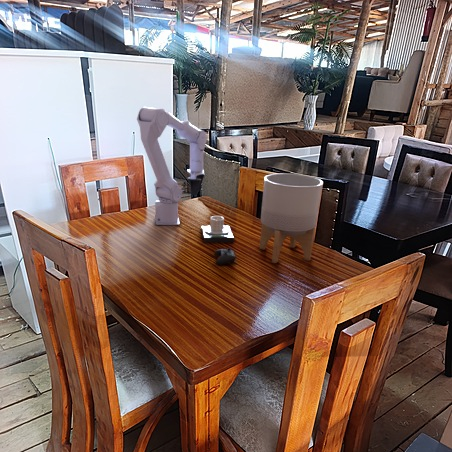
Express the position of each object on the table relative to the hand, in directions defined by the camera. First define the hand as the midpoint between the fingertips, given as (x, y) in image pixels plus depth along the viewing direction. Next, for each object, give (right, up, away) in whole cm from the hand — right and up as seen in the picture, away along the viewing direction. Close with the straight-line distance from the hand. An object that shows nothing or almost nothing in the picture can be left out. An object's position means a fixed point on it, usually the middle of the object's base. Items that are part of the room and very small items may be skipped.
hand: (196, 192), depth 174 cm
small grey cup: (+9, -20, -20) cm, 29 cm away
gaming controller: (+13, -34, -39) cm, 53 cm away
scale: (+9, -22, -19) cm, 31 cm away
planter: (+34, -31, -32) cm, 56 cm away
